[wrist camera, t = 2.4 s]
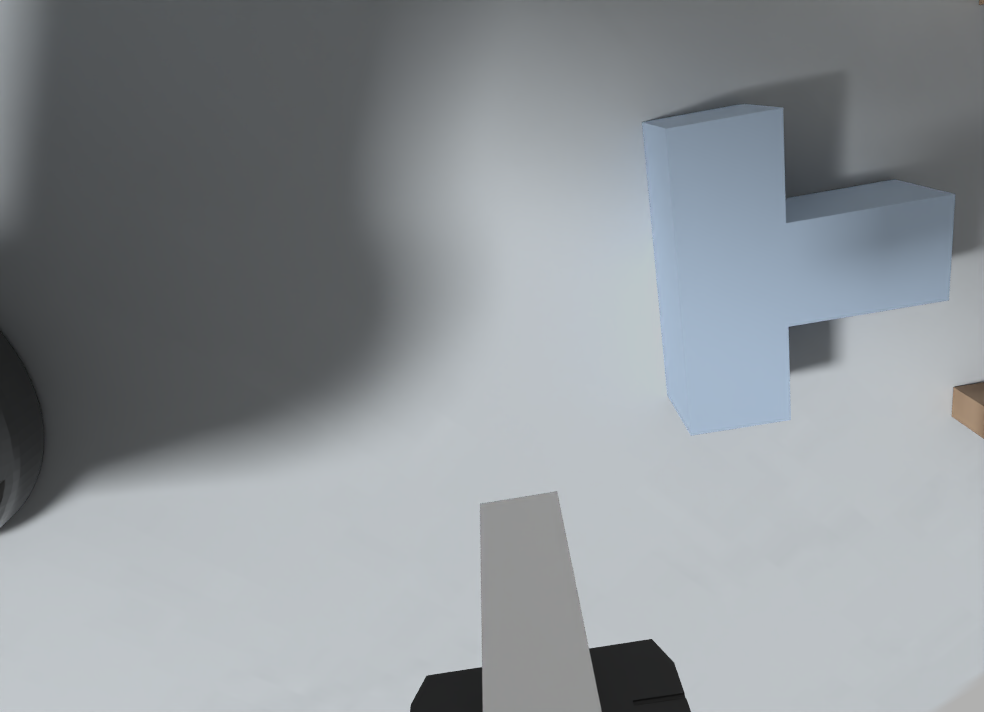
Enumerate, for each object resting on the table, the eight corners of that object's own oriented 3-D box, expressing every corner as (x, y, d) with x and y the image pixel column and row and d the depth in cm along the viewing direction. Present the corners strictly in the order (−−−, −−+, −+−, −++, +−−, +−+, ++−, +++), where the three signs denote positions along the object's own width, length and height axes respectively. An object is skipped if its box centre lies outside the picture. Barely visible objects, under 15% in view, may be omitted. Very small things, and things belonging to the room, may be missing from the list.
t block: (667, 394, 33) (691, 435, 29) (641, 122, 28) (665, 128, 25) (889, 358, 32) (943, 395, 28) (898, 75, 28) (962, 75, 24)
